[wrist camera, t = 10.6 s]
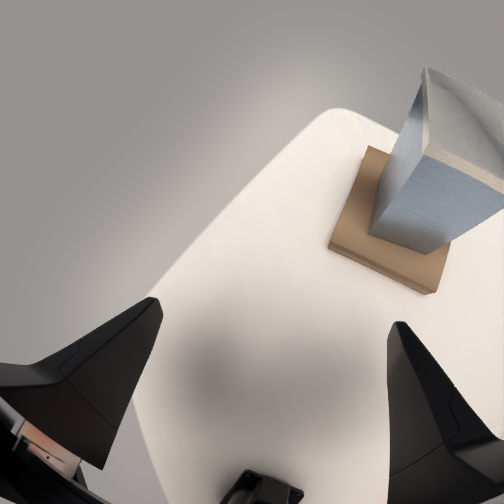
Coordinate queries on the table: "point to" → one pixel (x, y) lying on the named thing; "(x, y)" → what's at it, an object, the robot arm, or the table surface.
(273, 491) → the robot arm
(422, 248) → the tea tin
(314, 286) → the table surface
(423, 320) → the table surface
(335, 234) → the walnut block
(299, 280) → the table surface
